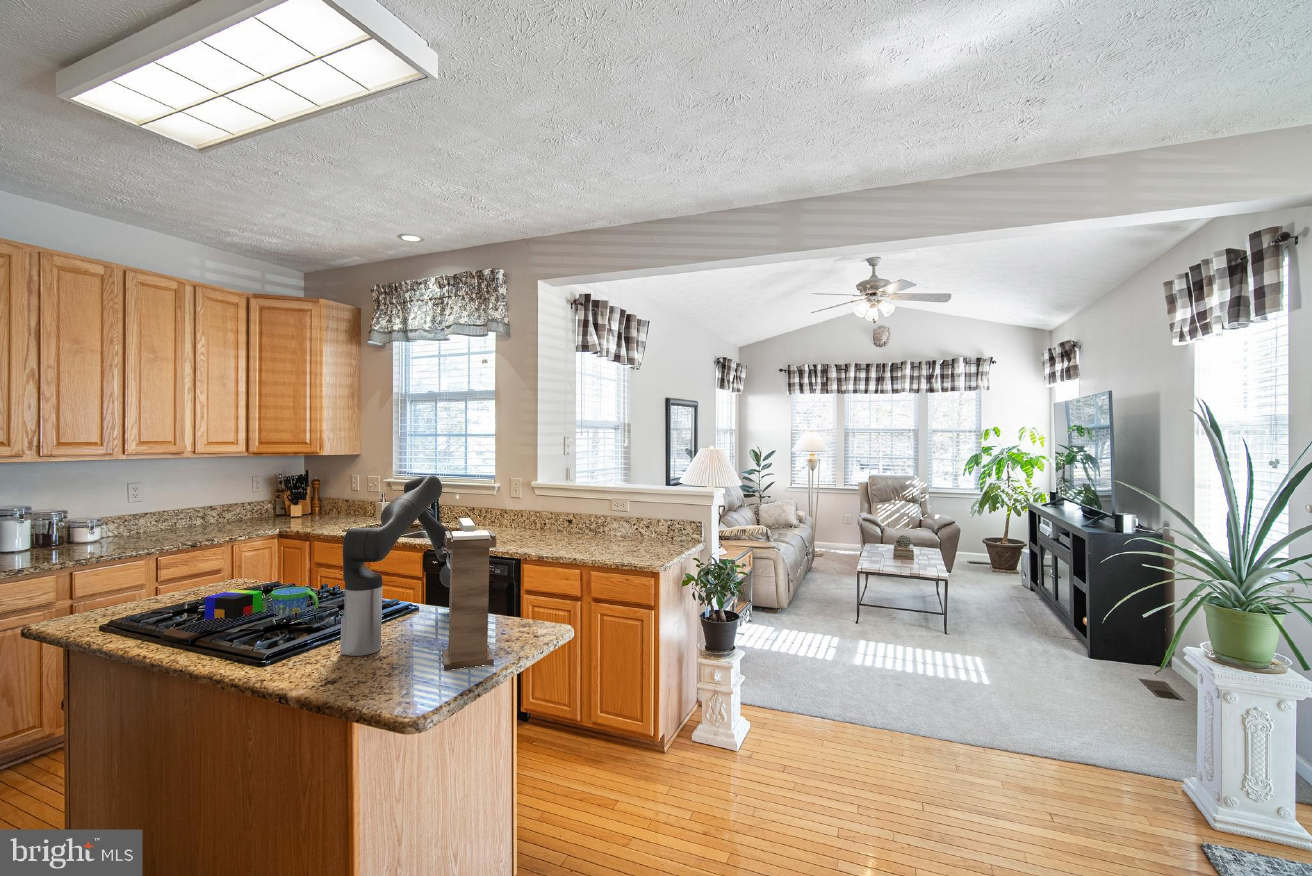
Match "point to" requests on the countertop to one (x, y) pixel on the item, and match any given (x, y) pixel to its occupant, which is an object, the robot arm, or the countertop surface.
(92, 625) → the countertop surface
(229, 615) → the puzzle toy
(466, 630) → the stand
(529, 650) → the countertop surface
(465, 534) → the slide cover
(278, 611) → the snack cup
